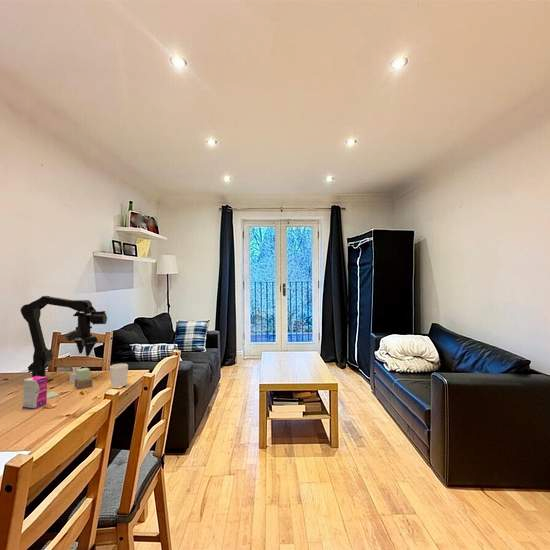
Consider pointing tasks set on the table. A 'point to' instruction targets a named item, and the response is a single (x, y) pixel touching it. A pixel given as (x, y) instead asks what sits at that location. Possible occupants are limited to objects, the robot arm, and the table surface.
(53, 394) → the tile
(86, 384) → the walnut base
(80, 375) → the sage block
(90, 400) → the table surface
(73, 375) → the grey block
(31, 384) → the supplement box
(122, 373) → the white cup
